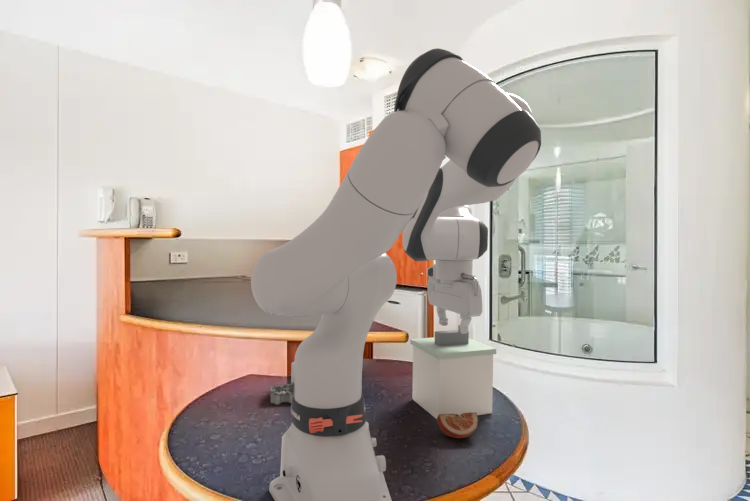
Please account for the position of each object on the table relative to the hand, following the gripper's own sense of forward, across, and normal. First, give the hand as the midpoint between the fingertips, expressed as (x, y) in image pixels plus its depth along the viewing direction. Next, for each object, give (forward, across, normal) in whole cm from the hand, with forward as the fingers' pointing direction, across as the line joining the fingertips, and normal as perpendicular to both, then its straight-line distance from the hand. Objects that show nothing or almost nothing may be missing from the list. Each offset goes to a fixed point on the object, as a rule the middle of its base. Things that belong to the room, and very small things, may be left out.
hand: (452, 329), depth 103 cm
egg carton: (+20, +17, +36) cm, 44 cm away
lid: (+5, 0, 0) cm, 5 cm away
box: (+19, 0, 0) cm, 19 cm away
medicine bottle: (+19, +24, +30) cm, 43 cm away
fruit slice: (+19, -15, +7) cm, 25 cm away
